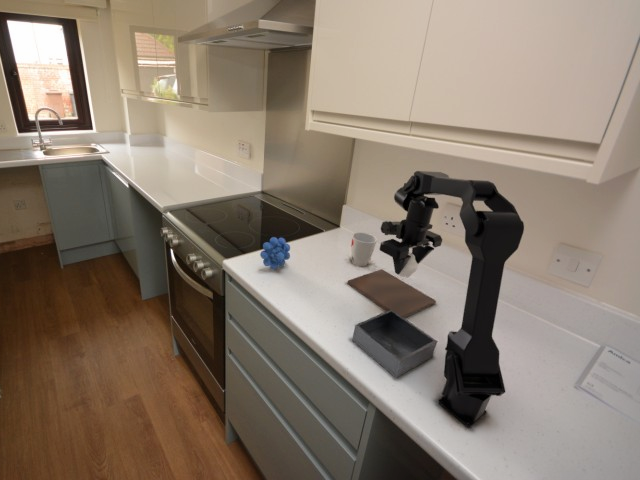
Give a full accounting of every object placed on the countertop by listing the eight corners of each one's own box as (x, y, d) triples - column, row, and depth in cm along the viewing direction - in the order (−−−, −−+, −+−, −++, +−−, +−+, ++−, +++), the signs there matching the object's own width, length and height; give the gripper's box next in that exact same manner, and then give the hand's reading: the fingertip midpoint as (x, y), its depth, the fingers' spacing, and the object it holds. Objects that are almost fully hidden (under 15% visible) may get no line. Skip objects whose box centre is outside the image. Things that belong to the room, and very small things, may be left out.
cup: (353, 254, 127) (358, 230, 123) (374, 262, 122) (380, 237, 118) (344, 262, 121) (348, 237, 117) (365, 271, 116) (371, 245, 112)
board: (435, 304, 100) (436, 300, 100) (399, 320, 93) (400, 316, 92) (381, 272, 116) (381, 269, 116) (347, 283, 108) (347, 280, 108)
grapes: (266, 279, 108) (268, 245, 104) (255, 269, 114) (257, 236, 109) (295, 271, 114) (299, 238, 109) (284, 261, 119) (287, 230, 114)
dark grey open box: (432, 356, 81) (437, 341, 79) (396, 378, 74) (400, 361, 72) (387, 323, 91) (391, 309, 89) (351, 340, 85) (355, 324, 83)
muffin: (387, 270, 96) (392, 248, 94) (403, 267, 98) (409, 246, 96) (402, 282, 91) (408, 259, 88) (420, 278, 93) (426, 256, 90)
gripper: (413, 204, 99) (401, 251, 105) (369, 213, 90) (359, 265, 96) (450, 217, 90) (434, 268, 96) (405, 229, 81) (391, 284, 87)
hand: (404, 270), depth 94 cm, fingers closed on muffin, 6 cm apart
